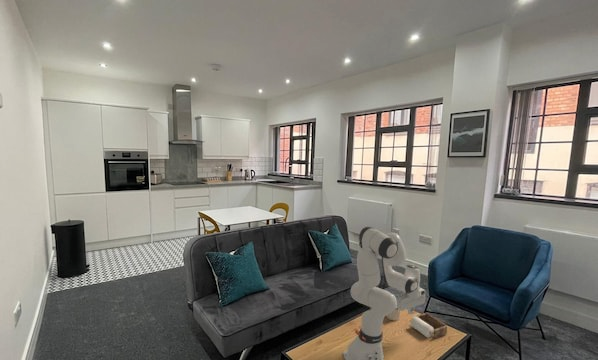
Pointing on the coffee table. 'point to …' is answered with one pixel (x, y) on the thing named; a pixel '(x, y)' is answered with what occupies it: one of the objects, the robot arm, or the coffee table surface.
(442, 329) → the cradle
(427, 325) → the roll
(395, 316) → the teacup with lid
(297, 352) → the coffee table surface
